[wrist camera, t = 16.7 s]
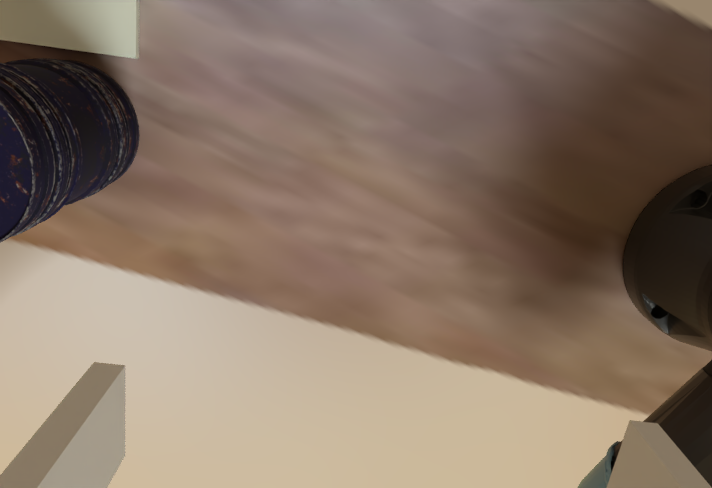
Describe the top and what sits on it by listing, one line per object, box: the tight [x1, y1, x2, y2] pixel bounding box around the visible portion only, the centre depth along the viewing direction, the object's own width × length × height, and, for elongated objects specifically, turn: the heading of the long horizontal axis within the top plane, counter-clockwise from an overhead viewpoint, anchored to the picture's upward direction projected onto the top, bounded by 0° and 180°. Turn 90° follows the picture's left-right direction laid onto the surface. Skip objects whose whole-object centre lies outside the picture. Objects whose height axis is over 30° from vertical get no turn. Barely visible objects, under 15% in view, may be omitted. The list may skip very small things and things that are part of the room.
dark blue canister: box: [0, 59, 139, 242], centre depth 35 cm, size 10×10×15 cm
